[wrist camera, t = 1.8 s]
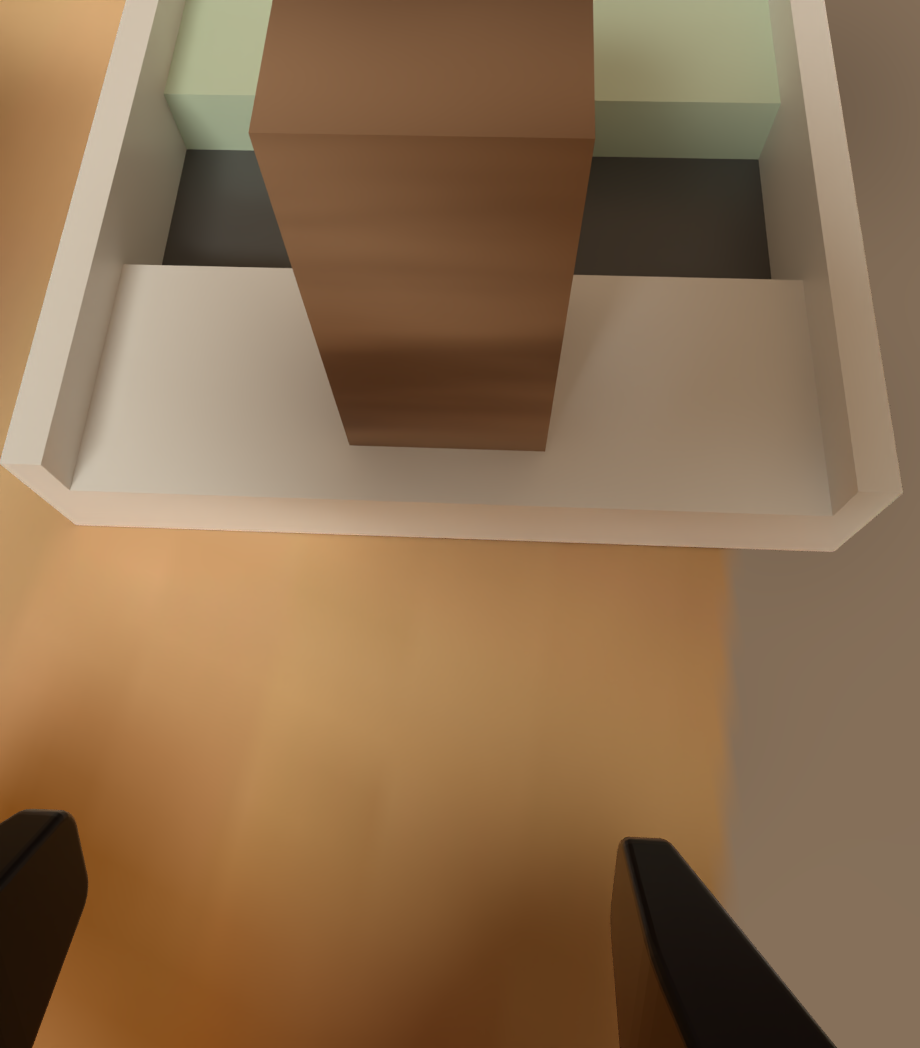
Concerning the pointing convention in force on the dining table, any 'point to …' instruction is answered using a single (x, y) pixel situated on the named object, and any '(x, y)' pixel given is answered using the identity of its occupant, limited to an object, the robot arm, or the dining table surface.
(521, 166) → the block
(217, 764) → the dining table surface
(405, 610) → the dining table surface
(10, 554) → the dining table surface
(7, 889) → the robot arm
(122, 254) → the trap box
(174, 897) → the dining table surface
